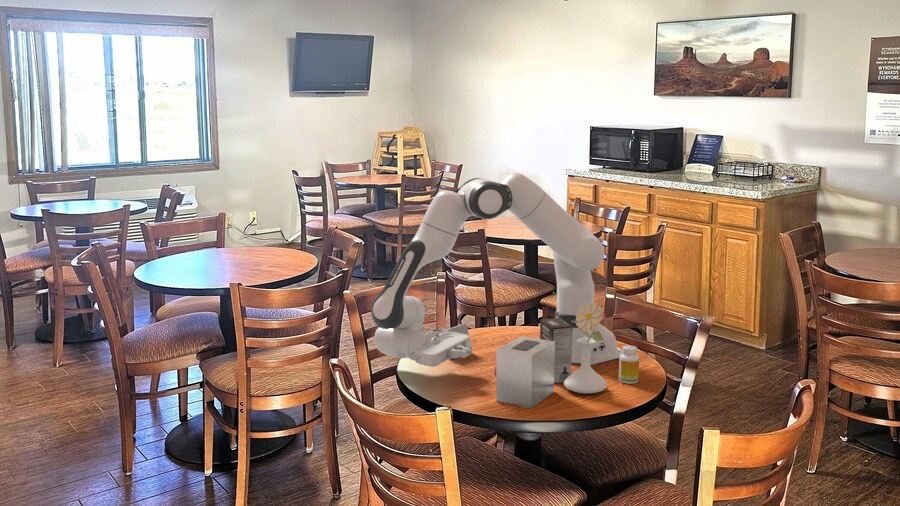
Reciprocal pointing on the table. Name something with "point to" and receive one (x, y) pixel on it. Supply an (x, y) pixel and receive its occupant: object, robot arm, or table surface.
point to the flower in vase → (587, 352)
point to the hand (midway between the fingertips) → (468, 353)
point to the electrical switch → (462, 330)
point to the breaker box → (525, 371)
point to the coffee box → (559, 345)
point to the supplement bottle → (629, 365)
